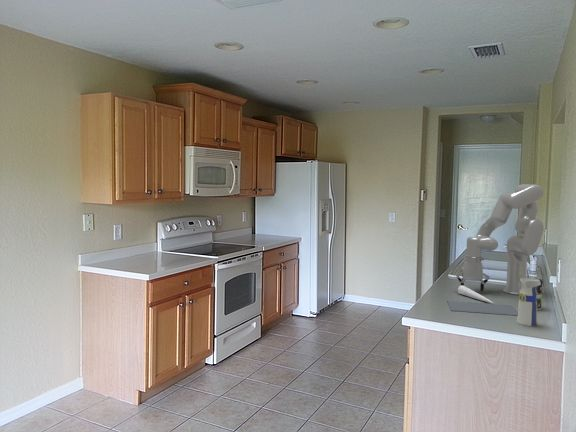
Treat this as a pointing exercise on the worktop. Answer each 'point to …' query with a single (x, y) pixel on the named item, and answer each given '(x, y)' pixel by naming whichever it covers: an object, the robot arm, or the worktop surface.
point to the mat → (482, 308)
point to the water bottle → (527, 301)
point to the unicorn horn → (472, 294)
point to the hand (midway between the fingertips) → (472, 290)
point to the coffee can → (538, 290)
